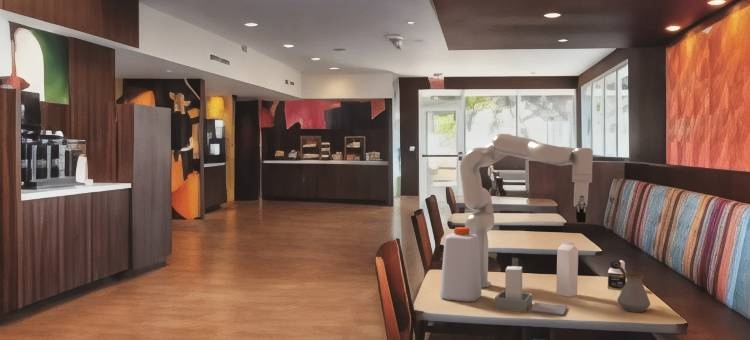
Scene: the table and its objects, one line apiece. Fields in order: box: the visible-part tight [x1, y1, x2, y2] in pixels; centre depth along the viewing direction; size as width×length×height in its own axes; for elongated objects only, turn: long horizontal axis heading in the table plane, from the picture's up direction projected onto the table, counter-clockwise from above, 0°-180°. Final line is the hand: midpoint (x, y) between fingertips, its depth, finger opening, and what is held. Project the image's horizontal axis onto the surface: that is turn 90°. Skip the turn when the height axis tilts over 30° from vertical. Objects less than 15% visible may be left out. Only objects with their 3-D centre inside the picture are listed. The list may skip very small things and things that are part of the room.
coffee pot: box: [614, 262, 651, 313], centre depth 237 cm, size 21×12×15 cm, turn 3°
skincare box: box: [504, 265, 523, 300], centre depth 234 cm, size 8×6×15 cm
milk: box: [555, 240, 579, 298], centre depth 253 cm, size 6×6×22 cm
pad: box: [528, 302, 568, 317], centre depth 229 cm, size 12×12×1 cm
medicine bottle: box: [607, 259, 627, 291], centre depth 267 cm, size 7×7×12 cm
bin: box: [494, 289, 533, 313], centre depth 235 cm, size 12×13×4 cm
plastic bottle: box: [439, 226, 482, 303], centre depth 247 cm, size 15×15×28 cm
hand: (580, 220), depth 248 cm, fingers open, 9 cm apart
